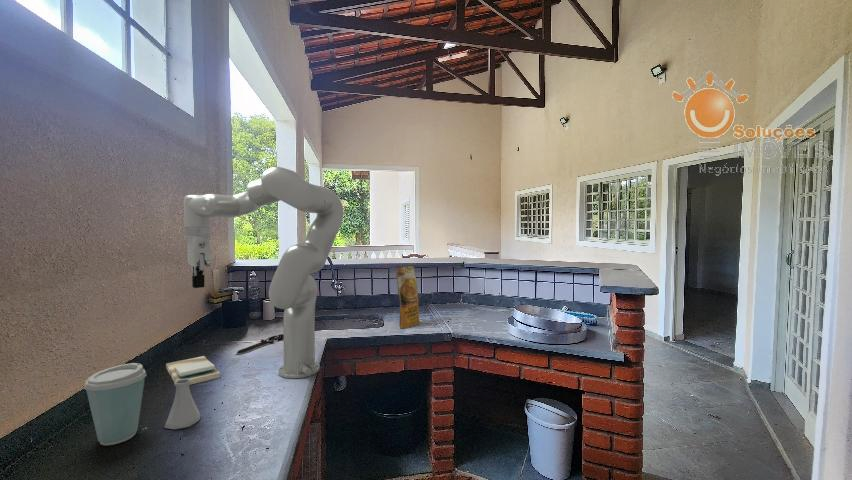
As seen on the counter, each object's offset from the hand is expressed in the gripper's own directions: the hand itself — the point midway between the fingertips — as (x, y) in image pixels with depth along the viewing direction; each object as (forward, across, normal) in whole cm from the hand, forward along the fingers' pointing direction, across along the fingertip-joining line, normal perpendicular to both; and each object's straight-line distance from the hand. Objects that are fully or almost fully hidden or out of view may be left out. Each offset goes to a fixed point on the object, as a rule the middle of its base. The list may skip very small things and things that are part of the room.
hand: (198, 287), depth 126 cm
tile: (+23, -11, +4) cm, 25 cm away
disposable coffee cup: (+26, -37, +24) cm, 52 cm away
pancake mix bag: (+26, -9, -85) cm, 90 cm away
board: (+26, -7, +4) cm, 27 cm away
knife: (+27, +6, -23) cm, 36 cm away
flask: (+26, -40, +12) cm, 49 cm away
